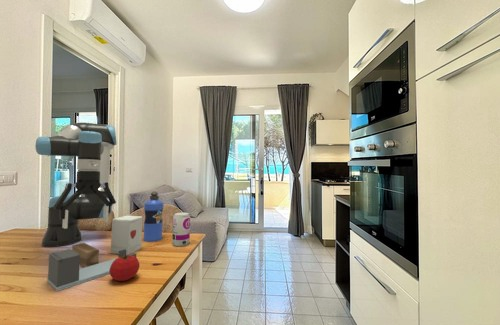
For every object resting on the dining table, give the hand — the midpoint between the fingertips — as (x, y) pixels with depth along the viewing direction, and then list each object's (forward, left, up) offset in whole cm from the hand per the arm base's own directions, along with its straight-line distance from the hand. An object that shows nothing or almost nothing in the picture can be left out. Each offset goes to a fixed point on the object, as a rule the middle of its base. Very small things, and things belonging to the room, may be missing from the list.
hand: (86, 224), depth 88 cm
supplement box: (0, +16, -15) cm, 22 cm away
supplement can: (+11, +37, -15) cm, 41 cm away
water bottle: (-7, +33, -15) cm, 37 cm away
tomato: (+25, +3, -15) cm, 30 cm away
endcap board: (+13, -1, -15) cm, 19 cm away
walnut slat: (0, 0, -15) cm, 15 cm away
